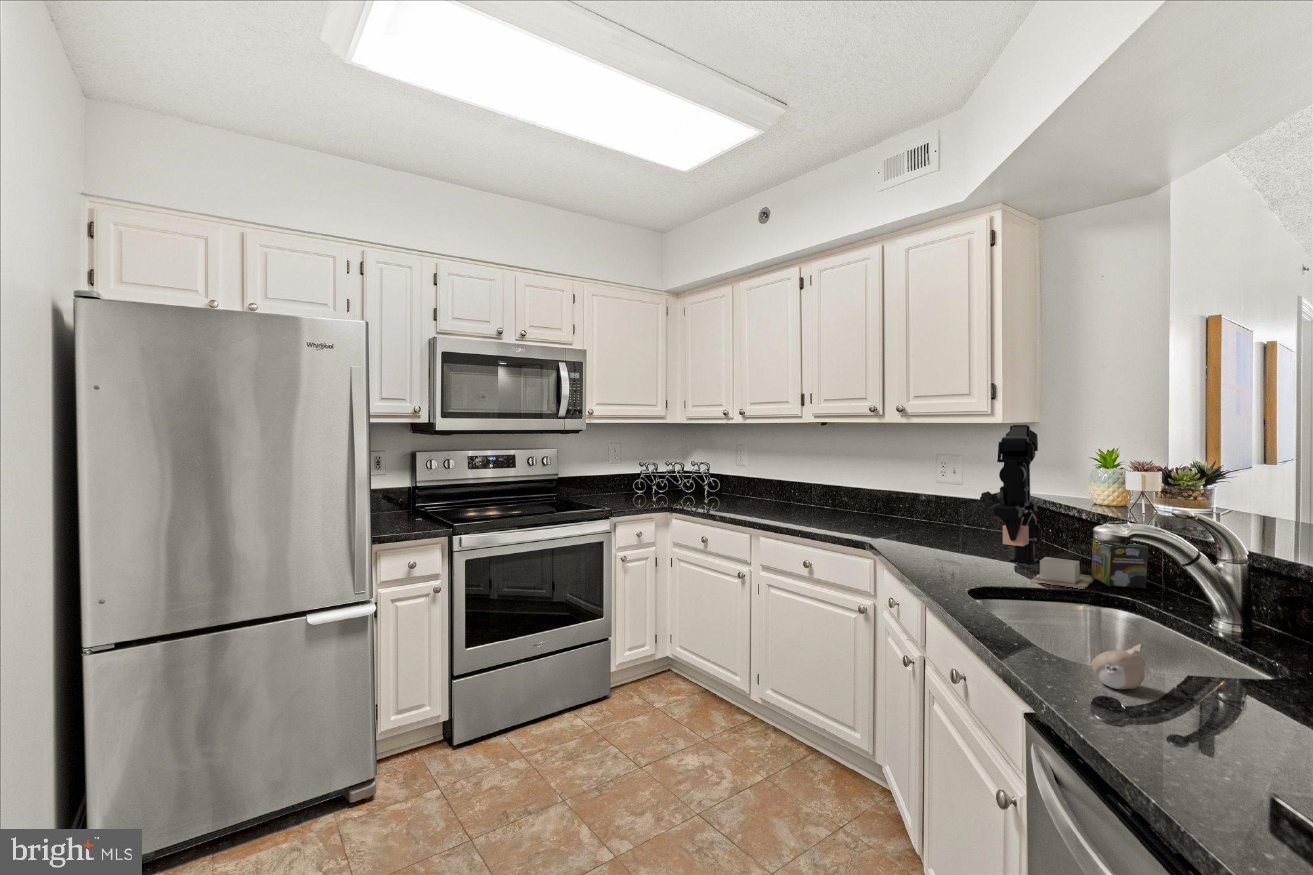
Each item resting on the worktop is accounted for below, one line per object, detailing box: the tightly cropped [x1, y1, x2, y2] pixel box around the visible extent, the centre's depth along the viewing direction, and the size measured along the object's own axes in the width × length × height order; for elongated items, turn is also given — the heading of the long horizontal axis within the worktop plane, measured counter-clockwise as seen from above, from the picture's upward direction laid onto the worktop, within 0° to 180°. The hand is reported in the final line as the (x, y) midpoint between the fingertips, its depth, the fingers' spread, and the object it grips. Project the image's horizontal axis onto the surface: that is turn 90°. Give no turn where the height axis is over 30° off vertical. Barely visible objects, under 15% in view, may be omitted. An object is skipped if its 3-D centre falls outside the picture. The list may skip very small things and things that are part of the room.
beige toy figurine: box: [1091, 643, 1146, 690], centre depth 99 cm, size 7×6×8 cm
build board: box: [1030, 573, 1096, 590], centre depth 165 cm, size 16×12×1 cm
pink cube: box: [1002, 524, 1030, 546], centre depth 164 cm, size 5×5×5 cm
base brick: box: [1039, 556, 1081, 584], centre depth 164 cm, size 8×6×5 cm
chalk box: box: [1090, 537, 1149, 589], centre depth 160 cm, size 9×9×15 cm
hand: (1015, 539), depth 164 cm, fingers closed on pink cube, 5 cm apart
